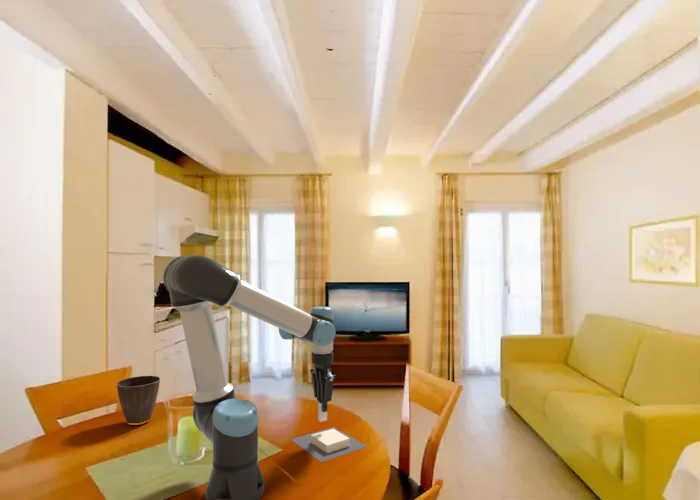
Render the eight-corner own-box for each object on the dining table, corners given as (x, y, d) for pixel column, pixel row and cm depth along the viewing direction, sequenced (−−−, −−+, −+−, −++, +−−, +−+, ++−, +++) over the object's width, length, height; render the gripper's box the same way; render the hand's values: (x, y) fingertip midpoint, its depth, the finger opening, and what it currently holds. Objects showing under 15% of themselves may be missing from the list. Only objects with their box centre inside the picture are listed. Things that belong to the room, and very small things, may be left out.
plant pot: (106, 427, 155) (107, 384, 155) (137, 413, 169) (138, 374, 169) (139, 432, 150) (139, 388, 151) (168, 417, 164) (168, 377, 165)
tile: (311, 442, 140) (327, 453, 132) (311, 434, 140) (327, 445, 132) (333, 435, 145) (349, 446, 137) (333, 428, 146) (349, 438, 137)
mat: (321, 464, 127) (321, 462, 127) (290, 441, 143) (290, 439, 143) (367, 448, 137) (367, 446, 137) (333, 428, 153) (333, 426, 153)
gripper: (341, 353, 140) (342, 423, 140) (322, 347, 151) (322, 412, 151) (322, 356, 136) (323, 429, 136) (303, 349, 147) (304, 416, 146)
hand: (322, 420), depth 143 cm, fingers closed
